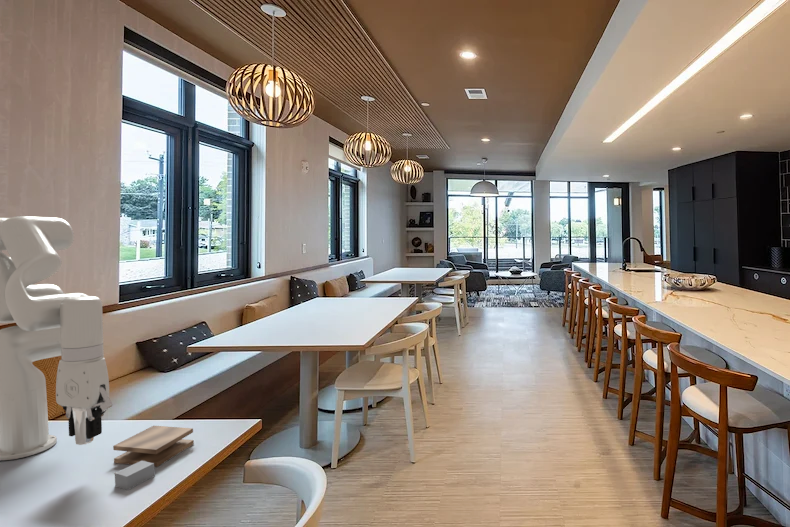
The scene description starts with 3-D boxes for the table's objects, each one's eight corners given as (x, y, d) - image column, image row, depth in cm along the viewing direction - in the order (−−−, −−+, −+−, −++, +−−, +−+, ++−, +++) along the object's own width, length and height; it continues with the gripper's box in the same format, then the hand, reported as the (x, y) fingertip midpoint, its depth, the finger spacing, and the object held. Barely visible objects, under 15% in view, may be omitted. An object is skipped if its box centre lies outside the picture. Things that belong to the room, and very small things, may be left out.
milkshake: (86, 448, 93) (87, 403, 92) (66, 444, 94) (66, 399, 93) (105, 439, 97) (105, 395, 97) (85, 435, 99) (85, 392, 98)
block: (115, 487, 91) (114, 473, 91) (142, 473, 96) (141, 460, 96) (127, 491, 89) (126, 476, 89) (154, 477, 94) (154, 463, 94)
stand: (114, 462, 101) (113, 445, 101) (154, 440, 113) (153, 425, 113) (157, 467, 98) (156, 449, 98) (193, 444, 110) (192, 428, 110)
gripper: (35, 354, 93) (38, 438, 94) (98, 360, 89) (100, 447, 90) (69, 346, 101) (72, 424, 101) (128, 351, 97) (130, 431, 97)
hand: (85, 434), depth 96 cm, fingers closed on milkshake, 4 cm apart
